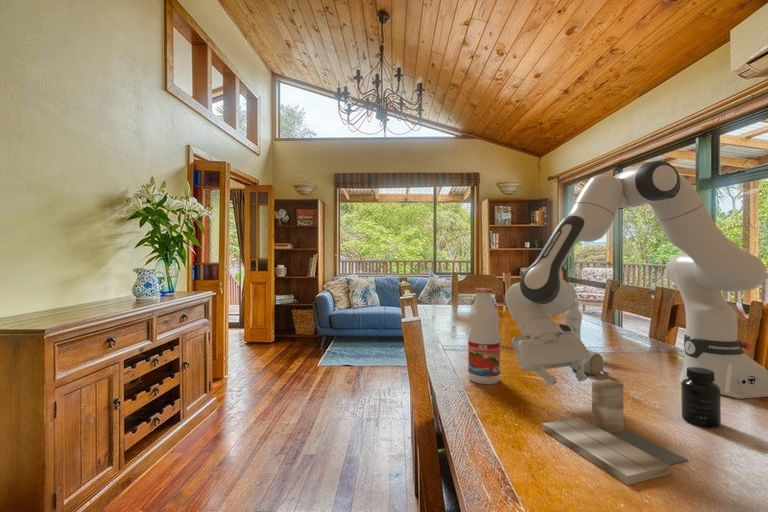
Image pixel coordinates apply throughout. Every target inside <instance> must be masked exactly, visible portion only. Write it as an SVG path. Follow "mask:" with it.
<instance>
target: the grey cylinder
mask: <svg viewBox="0 0 768 512" xmlns="http://www.w3.org/2000/svg"><path fill="white" fill-rule="evenodd" d="M587 350H588V352H589V353H590V359H589V360H588V361H587V362H586V363H585V364H583V365H584V373H585V374H586V375H587V374H588V375H592V376H597V375H599V374H600V373H601V372H602V371H603V370H604V367H605V366H604V358H603V356H602V355H601V354H600V353H599V352H596V351H594V350H591V349H587ZM569 367H570V369H572V370H575V371H577V369H574V367H573V366H569Z"/></svg>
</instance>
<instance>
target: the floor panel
mask: <svg viewBox="0 0 768 512" xmlns="http://www.w3.org/2000/svg"><path fill="white" fill-rule="evenodd" d="M591 423H592V422H588V421H587V420H585V419H583V418H581V417H579V416H577V417H571V418H566V419H560V420H555V421H549V422H542V431H543V432H544V433H545V434H547V435H549V436H550V437H552V438H554V439H555V440H557V441H558V442H559V443H562V444H563V445H564V446H566V447H568V448H569V449H571V450H572V451H574V452H575V453H577V454H578V455H580V456H582V457H583V458H584V459H586V460H588V461H589V462H591V463H593V464H594V465H595V466H597V467H599V468H600V469H601V470H603V471H604V472H606V473H608V474H609V475H610V476H612V477H614V478H615V479H617V480H619V481H620V482H622V483H623V484H625V485H626V486H629V485H634V484H637V483H641V482H645V481H649V480H652V479H655V478H660V477H663V476H667V475H670V474H671V465H668V464H666V463H664V462H662V461H661V460H659V459H657V458H655V457H653V456H651V455H649V454H647V453H645V452H644V451H642V450H640V449H638V448H636V447H634V446H632V445H630V444H628V443H627V442H625V441H623V440H621V439H619V438H617V437H615V436H613V435H611V434H610V433H608V432H606V431H604V430H602V429H600V428H598V427H596V426H594V425H593V424H591Z"/></svg>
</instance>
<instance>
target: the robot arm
mask: <svg viewBox="0 0 768 512" xmlns="http://www.w3.org/2000/svg"><path fill="white" fill-rule="evenodd" d="M646 204H647V205H648V206H650V207H651V208H652V211H653V213H654V215H655V217H656V219H657V221H658V223H659V225H660V227H661V228H662V231H663V232H664V235H665V236H666V238H667V240H668V242H669V243H670V244H671V245H673V247H676V248H678V249H679V250H681V251H682V253H679V254H675V255H673V256H671V257H670V259H669V260H668V261H667V263H666V266H665V267H666V268H665V270H666V275H667V277H668V278H669V280H670V281H672V283H674V285H675V286H676V287H677V289H678V292H679V293H680V296H681V299H682V301H683V304H684V311H685V334H684V337H683V348H684V352H685V354H684V359H683V360H684V361H683V365H682V370H681V373H680V376H679V378H678V381H679V383H682V381H683V380H684V379H687V378H688V377H687V376H686V374H687V368H689V367H698V368H704V369H708V370H711V371H713V372H714V378H715V381H713V382H714V383H715V384H717V385H718V386H719V388H720V391H721V395H722V396H726V397H731V398H734V399H741V400H742V399H753V398H754V399H755V398H764V397H765V398H768V369H766V367H764V365H763V366H762V365H761V364H759V363H758V362H757V361H756V360H754V359H753V358H751V357H750V356H748V355H747V354H746V353H745V351H744V349H746V350H748V351H752V350H753V349H754V348H755V347H754V346H755V345H754V344H753V343H752V342H748V341H746V340H745V341H740V340H739V339H738V314H737V312H736V310H735V309H734V308H733V307H732V306H731V305H730V304H729V303H728V302H727V301H726V300H725V298H724V296H723V293H722V292H728V293H730V292H731V293H733V292H735V293H736V292H745V291H746V292H747V291H753V290H755V289H756V288H758V287H760V286H761V285H762V284H763V282H764V281H765V278H766V274H767V272H766V266H765V264H764V263H763V261H762V260H761V259H760V258H759V256H756V255H754V254H751V253H749V252H747V251H745V250H744V249H742V248H741V247H739V246H738V245H737V244H735V243H734V242H733V241H732V240H730V238H729V237H727V235H725V234H724V233H723V232H722V230H720V228H718V226H717V224H716V223H715V221H714V220H713V218H712V216H711V214H710V213H709V211H708V209H707V207H706V205H705V203H704V202H703V200H702V198H701V196H700V195H699V193H698V192H697V190H696V189H695V188H694V186H693V185H692V184H691V182H689V180H688V179H687V178H686V177H685V176H684V175H681V174H679V172H678V170H677V168H676V167H674V166H673V165H672V164H671V163H669V161H668V162H667V161H664V160H655V161H654V160H652V161H648V162H645V163H644V164H639V165H636V166H635V165H634V166H632V167H629V168H627V169H625V170H624V171H621V172H619V173H617V174H614V175H610V174H597V175H594V176H592V177H590V178H589V180H587V182H586V183H585V184H584V186H583V187H582V189H581V190H580V192H579V193H578V195H577V197H576V199H575V201H574V202H573V205H572V206H571V209H570V210H569V212H568V214H567V215H566V217H564V218H563V219H562V220H561V221H559V223H558V225H557V226H556V228H555V229H554V230H553V232H552V233H551V235H550V237H549V238H548V240H547V241H546V243H545V244H544V246H543V248H542V249H541V251H540V253H539V255H538V256H537V257H536V259H535V260H534V262H532V263H531V264H530V265H529V266H528V267H527V268H526V269H525V271H524V272H523V273H522V274H521V277H520V279H519V282H516V283H513V284H512V285H510V287H508V289H507V290H506V291H505V295H504V300H505V304H506V306H507V310H508V311H509V313H510V315H511V318H512V319H513V321H514V322H515V323H516V324H517V326H518V330H519V331H520V333H521V335H522V336H514V337H513V338H512V339H511V341H510V343H511V346H512V348H513V350H514V353H515V356H516V360H517V362H518V364H519V367H520V368H521V369H522V370H523V371H524V372H533V371H534V372H535V371H536V373H537V375H538V376H539V377H541V378H543V379H544V380H545V382H546V383H547V385H548V386H549V387H550V386H556V385H557V382H558V381H557V379H556V377H555V376H554V375H551V374H550V373H549V372H548V371H547V370H549V369H550V370H551V369H559V368H566V367H567V368H568V367H570V366H573V367H574V369H577V370H576V373H577V374H575V378H576V379H577V381H578V382H585V381H586V380H587V379H588V376H587V374H586V373H584V365H583V364H585V363H586V362H587V361H588V360H589V359H590V353H589V352H588V350H589V349H587V347H586V345H585V344H584V342H583V341H582V339H581V340H580V339H579V338H578V337H577V336H576V335H574V334H573V332H574V330H573V328H572V327H571V326H569V325H565V324H564V323H559V322H558V321H555V320H552V319H551V318H553V317H555V316H558V315H560V314H564V312H565V311H567V310H569V309H570V308H571V307H572V306H573V304H574V302H576V297H577V296H576V291H575V289H574V288H573V286H572V285H570V283H568V282H567V281H566V280H565V279H563V278H562V276H561V270H562V267H563V265H564V264H565V262H566V260H567V259H568V257H569V255H570V253H571V252H572V251H573V249H574V247H575V246H576V245H577V244H578V243H580V242H585V243H589V242H595V241H598V240H601V239H602V238H603V237H604V236H605V235H606V234H607V232H608V231H609V229H610V228H611V225H612V224H613V222H614V219H615V218H616V215H617V213H618V211H619V210H624V209H627V208H635V207H641V206H643V205H646ZM574 369H573V370H574Z"/></svg>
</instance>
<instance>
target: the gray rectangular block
mask: <svg viewBox="0 0 768 512" xmlns="http://www.w3.org/2000/svg"><path fill="white" fill-rule="evenodd" d="M591 423H592V424H593V425H594V426H596V427H598V428H600V429H602V430H604V431H606V432H608V433H611V432H616V431H621V430H623V428H624V383H621V382H618V381H616V380H612V379H609V378H607V379H602V380H601V379H600V380H595V381H593V380H592V381H591Z"/></svg>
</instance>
